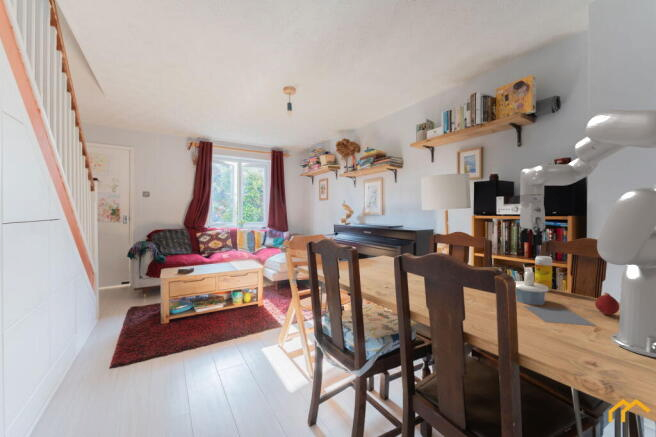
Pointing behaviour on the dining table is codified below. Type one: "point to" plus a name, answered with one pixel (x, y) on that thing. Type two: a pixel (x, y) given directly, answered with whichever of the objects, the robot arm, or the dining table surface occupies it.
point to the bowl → (530, 297)
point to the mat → (558, 315)
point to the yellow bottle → (543, 271)
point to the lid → (530, 284)
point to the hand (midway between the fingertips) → (530, 243)
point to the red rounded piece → (607, 304)
